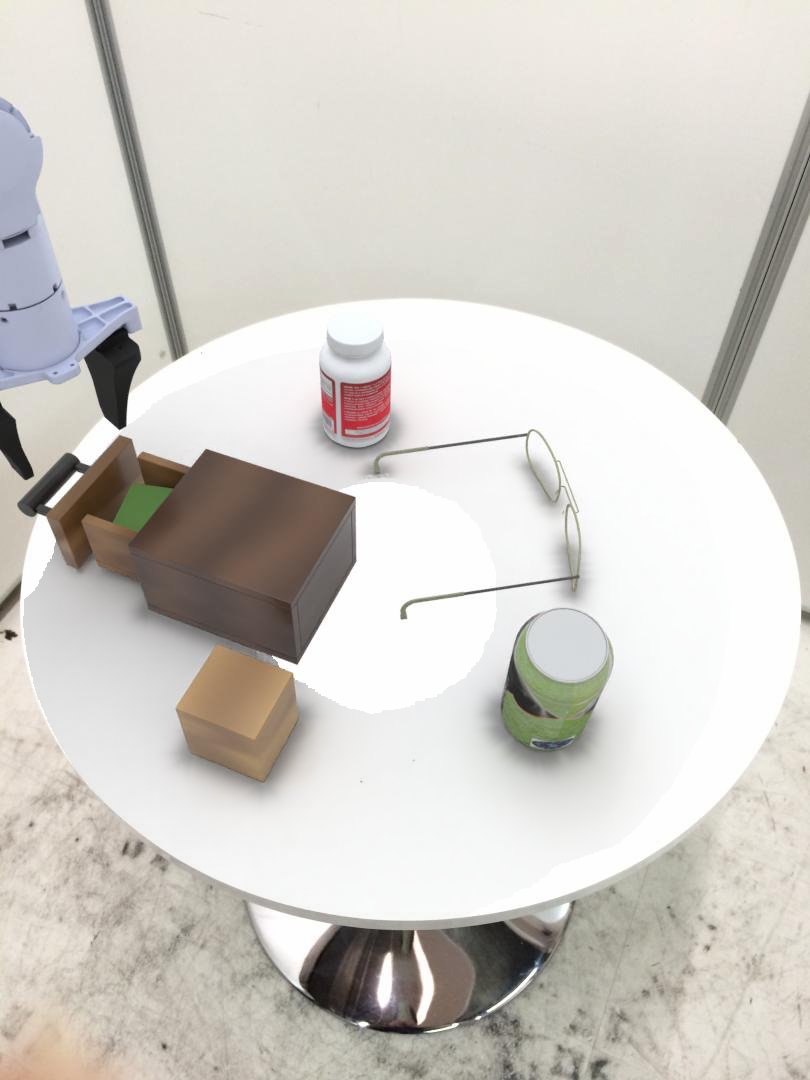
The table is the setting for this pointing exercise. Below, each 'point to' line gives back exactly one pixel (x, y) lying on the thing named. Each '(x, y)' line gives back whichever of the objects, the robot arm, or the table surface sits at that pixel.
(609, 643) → the beverage can
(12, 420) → the robot arm
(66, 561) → the drawer
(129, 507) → the matte green cuboid
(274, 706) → the wooden block
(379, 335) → the pill bottle
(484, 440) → the eyeglasses
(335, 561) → the cabinet
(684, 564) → the table surface
